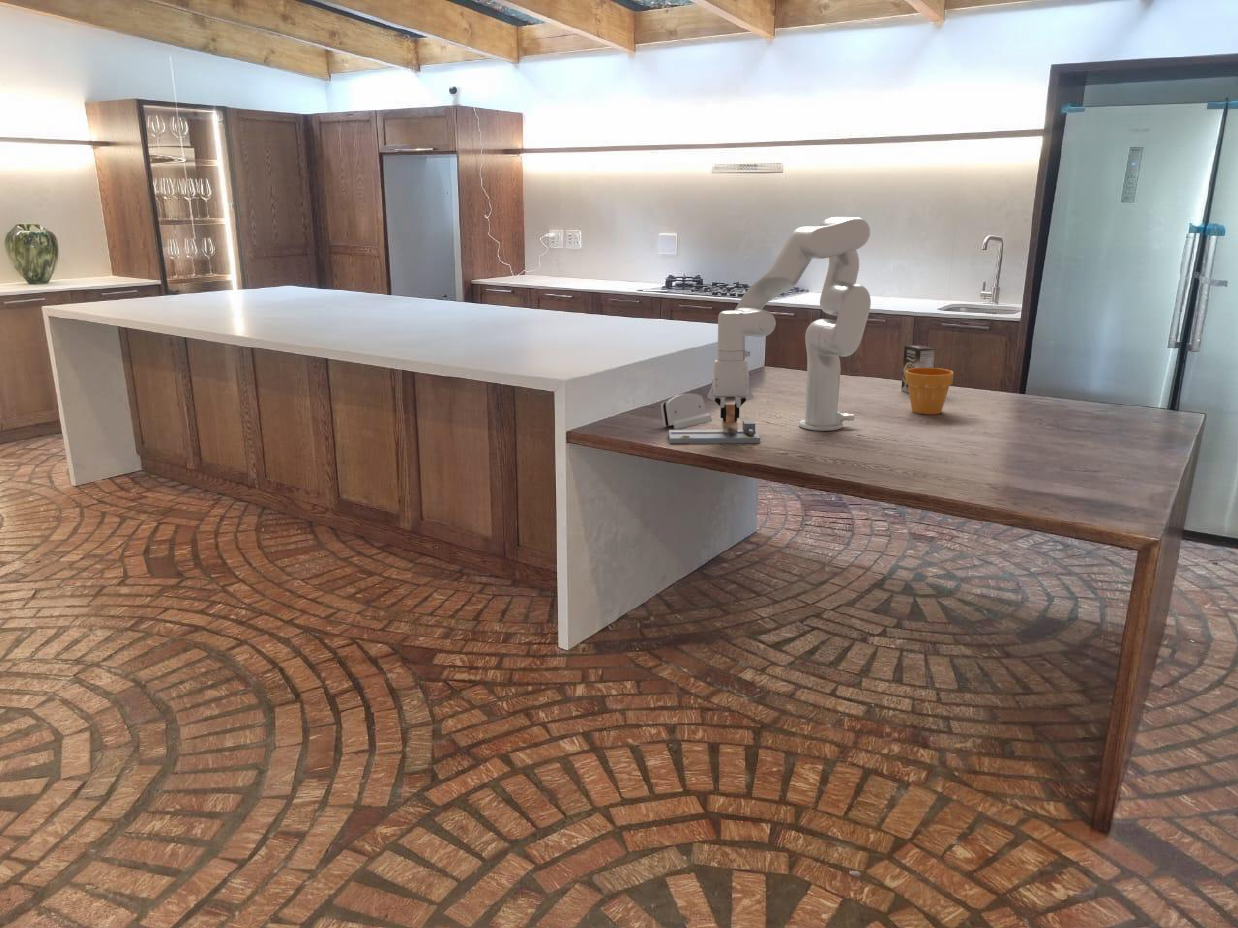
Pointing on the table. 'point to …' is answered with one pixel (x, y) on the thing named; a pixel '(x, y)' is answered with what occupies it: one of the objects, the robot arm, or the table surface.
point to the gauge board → (717, 435)
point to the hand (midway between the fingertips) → (729, 420)
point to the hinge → (684, 411)
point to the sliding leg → (730, 419)
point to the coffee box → (916, 360)
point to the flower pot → (928, 388)
